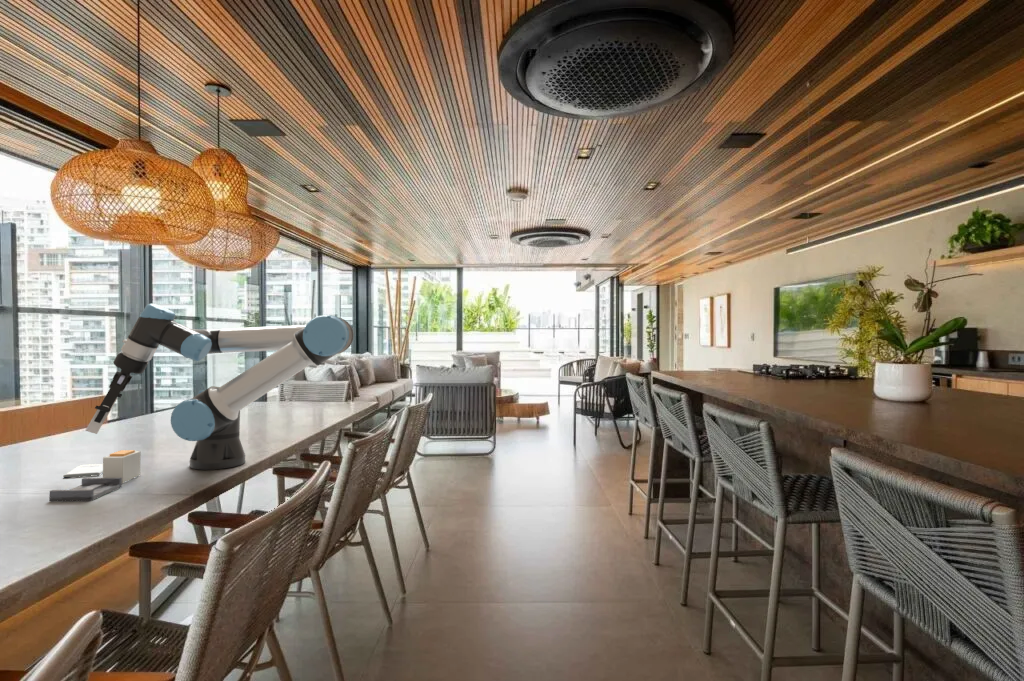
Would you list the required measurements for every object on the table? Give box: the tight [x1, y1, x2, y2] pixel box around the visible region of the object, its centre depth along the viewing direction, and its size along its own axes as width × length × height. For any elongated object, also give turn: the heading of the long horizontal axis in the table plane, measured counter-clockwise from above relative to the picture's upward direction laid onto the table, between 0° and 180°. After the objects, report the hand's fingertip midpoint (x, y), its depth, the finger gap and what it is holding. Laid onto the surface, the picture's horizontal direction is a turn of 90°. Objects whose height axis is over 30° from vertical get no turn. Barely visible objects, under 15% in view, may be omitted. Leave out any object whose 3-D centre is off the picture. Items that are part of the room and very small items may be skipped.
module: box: [102, 449, 142, 484], centre depth 146 cm, size 5×8×8 cm, turn 7°
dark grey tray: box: [48, 477, 123, 502], centre depth 132 cm, size 9×12×2 cm
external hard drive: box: [63, 463, 103, 478], centre depth 153 cm, size 2×8×12 cm
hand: (96, 424), depth 147 cm, fingers open, 13 cm apart
